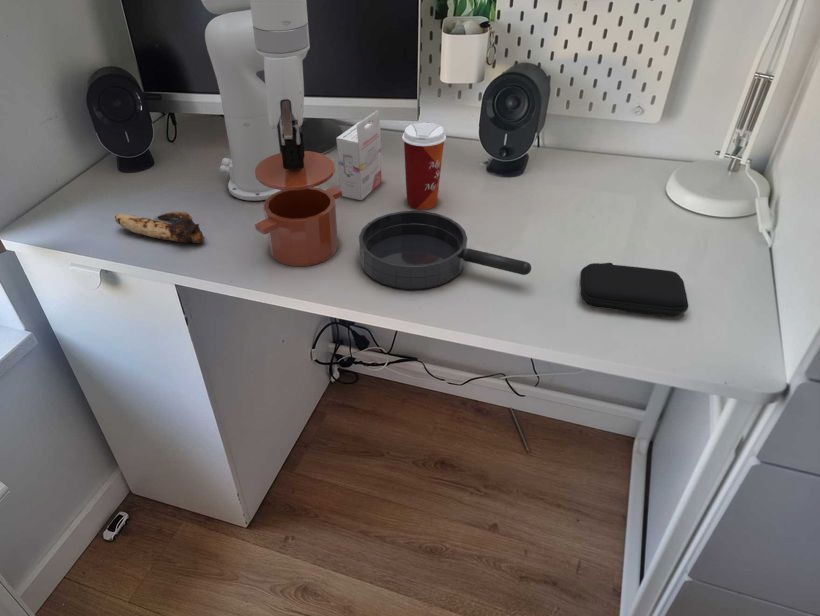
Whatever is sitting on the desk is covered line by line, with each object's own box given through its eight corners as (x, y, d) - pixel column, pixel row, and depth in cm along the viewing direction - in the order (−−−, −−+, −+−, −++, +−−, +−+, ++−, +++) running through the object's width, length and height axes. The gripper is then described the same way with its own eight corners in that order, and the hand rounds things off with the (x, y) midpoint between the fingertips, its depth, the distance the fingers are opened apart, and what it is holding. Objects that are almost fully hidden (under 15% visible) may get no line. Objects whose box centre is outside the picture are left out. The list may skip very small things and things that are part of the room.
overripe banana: (222, 229, 117) (140, 212, 122) (219, 206, 114) (135, 189, 119) (194, 254, 110) (109, 235, 115) (189, 230, 107) (102, 211, 112)
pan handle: (459, 262, 100) (459, 251, 99) (463, 255, 102) (464, 244, 100) (528, 278, 96) (530, 267, 95) (531, 272, 98) (533, 260, 96)
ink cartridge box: (360, 178, 130) (358, 104, 120) (382, 183, 128) (381, 108, 118) (338, 196, 124) (334, 121, 114) (361, 201, 122) (358, 125, 112)
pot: (244, 255, 109) (236, 210, 104) (317, 218, 118) (314, 174, 112) (288, 281, 103) (282, 235, 97) (362, 239, 112) (361, 195, 106)
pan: (341, 275, 104) (340, 251, 101) (387, 225, 115) (387, 202, 112) (440, 302, 97) (442, 277, 94) (479, 246, 108) (482, 223, 105)
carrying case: (678, 280, 99) (578, 269, 102) (684, 263, 97) (582, 253, 100) (686, 322, 91) (578, 309, 94) (693, 305, 89) (582, 292, 92)
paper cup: (440, 213, 117) (444, 139, 108) (398, 211, 119) (399, 137, 110) (444, 193, 123) (448, 121, 114) (404, 191, 124) (405, 120, 115)
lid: (239, 176, 102) (233, 139, 98) (299, 150, 109) (295, 114, 105) (291, 202, 96) (287, 163, 91) (351, 173, 102) (350, 135, 98)
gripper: (259, 22, 95) (273, 142, 107) (249, 58, 82) (267, 188, 95) (310, 20, 95) (318, 140, 107) (307, 55, 82) (317, 186, 95)
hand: (294, 161), depth 101 cm, fingers closed on lid, 2 cm apart
